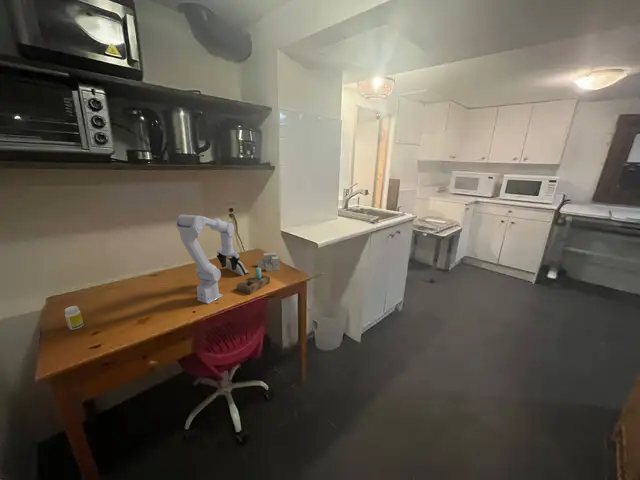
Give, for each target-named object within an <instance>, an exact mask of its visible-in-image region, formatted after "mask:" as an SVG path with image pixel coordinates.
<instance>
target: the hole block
mask: <svg viewBox="0 0 640 480" xmlns="http://www.w3.org/2000/svg"><path fill="white" fill-rule="evenodd" d="M261 278H262V279H260V280H257V279H256V273H254V275H252V276H250V277H248V278H246V279H244V280H242V281H240V282H238V283H237V284H236V290H237V291H239V292H241V293H245V294H248V295H251V294H253V293H255V292H257V291H258V290H260V289H262V288H264V287H265V286H267V285H268V284H270V283H271V276H268V275H264V274H261Z"/></svg>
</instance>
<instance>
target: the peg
mask: <svg viewBox="0 0 640 480" xmlns="http://www.w3.org/2000/svg"><path fill="white" fill-rule="evenodd" d="M255 274H256V279H257V280H260V279H262V278H261V275H262V267H256V268H255Z"/></svg>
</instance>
